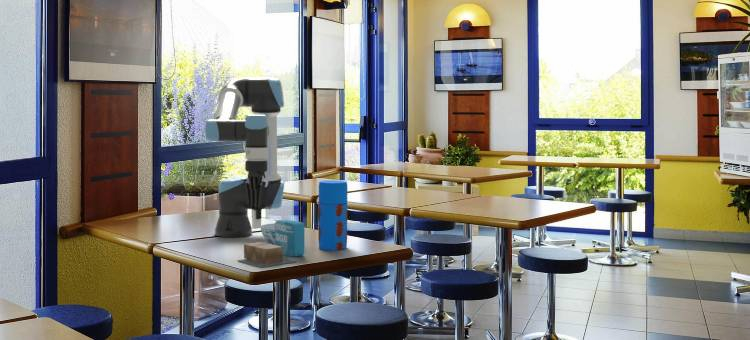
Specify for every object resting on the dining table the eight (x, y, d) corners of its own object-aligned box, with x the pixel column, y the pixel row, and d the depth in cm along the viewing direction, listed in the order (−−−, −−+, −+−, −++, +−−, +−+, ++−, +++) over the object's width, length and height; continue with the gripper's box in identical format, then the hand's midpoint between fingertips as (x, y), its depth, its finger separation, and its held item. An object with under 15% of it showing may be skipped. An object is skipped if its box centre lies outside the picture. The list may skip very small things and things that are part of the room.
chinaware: (263, 250, 282) (263, 229, 281) (258, 243, 296) (258, 223, 295) (303, 249, 286) (303, 228, 285) (296, 242, 300) (296, 222, 299)
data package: (274, 252, 278) (274, 220, 277) (284, 251, 281) (284, 218, 280) (294, 257, 269) (294, 223, 268) (304, 256, 272) (304, 222, 271)
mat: (237, 261, 261) (237, 260, 261) (271, 256, 271) (271, 255, 271) (261, 267, 251) (261, 266, 251) (295, 262, 260) (295, 261, 260)
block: (244, 244, 264) (265, 249, 255) (260, 241, 269) (282, 246, 260) (244, 258, 265) (265, 264, 255) (261, 255, 269) (282, 261, 260)
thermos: (314, 246, 291) (314, 180, 289) (341, 244, 295) (341, 180, 293) (324, 251, 281) (324, 183, 279) (351, 249, 285) (351, 182, 283)
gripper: (236, 159, 265) (237, 226, 267) (257, 161, 255) (258, 231, 257) (254, 158, 270) (255, 224, 272) (276, 160, 260) (276, 229, 262)
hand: (256, 228), depth 264 cm, fingers closed
